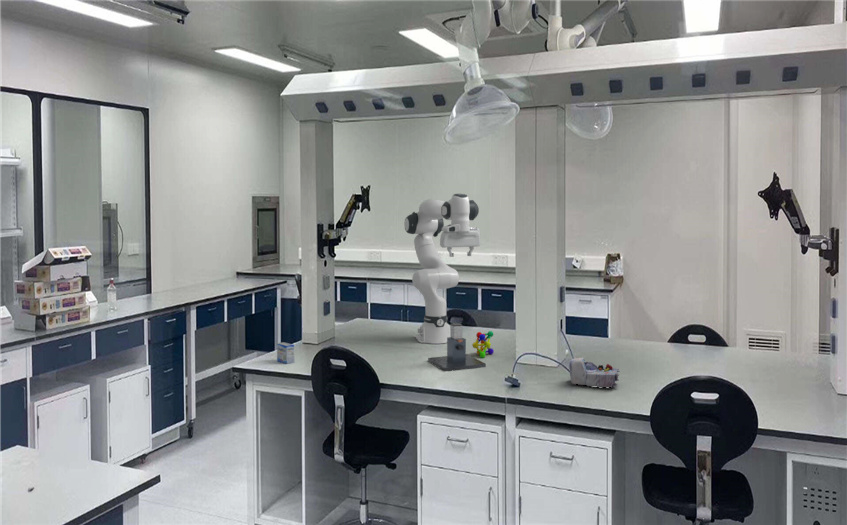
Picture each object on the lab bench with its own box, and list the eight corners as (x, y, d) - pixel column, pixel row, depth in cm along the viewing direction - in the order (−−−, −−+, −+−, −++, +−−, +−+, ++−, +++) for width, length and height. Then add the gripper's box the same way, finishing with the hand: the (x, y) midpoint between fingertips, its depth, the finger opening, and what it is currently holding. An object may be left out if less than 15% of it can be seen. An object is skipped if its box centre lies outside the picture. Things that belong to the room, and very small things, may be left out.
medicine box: (277, 361, 311) (276, 343, 310) (284, 359, 314) (284, 341, 313) (286, 364, 305) (286, 345, 304) (294, 362, 308) (294, 344, 308)
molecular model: (484, 358, 314) (484, 334, 313) (471, 356, 318) (471, 333, 317) (495, 354, 323) (495, 331, 323) (482, 352, 327) (483, 329, 327)
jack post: (450, 359, 306) (450, 323, 304) (458, 358, 307) (458, 322, 305) (454, 361, 302) (454, 325, 300) (462, 360, 303) (462, 324, 302)
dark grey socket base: (428, 361, 310) (427, 335, 309) (466, 357, 318) (466, 332, 316) (445, 371, 292) (445, 344, 290) (485, 366, 299) (485, 340, 298)
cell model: (569, 353, 278) (619, 357, 274) (568, 379, 279) (617, 382, 275) (569, 361, 265) (621, 364, 261) (568, 387, 266) (620, 391, 262)
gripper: (477, 227, 325) (476, 255, 326) (438, 227, 317) (438, 256, 319) (482, 227, 319) (482, 256, 320) (443, 228, 311) (443, 257, 313)
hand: (460, 256), depth 319 cm, fingers open, 8 cm apart
